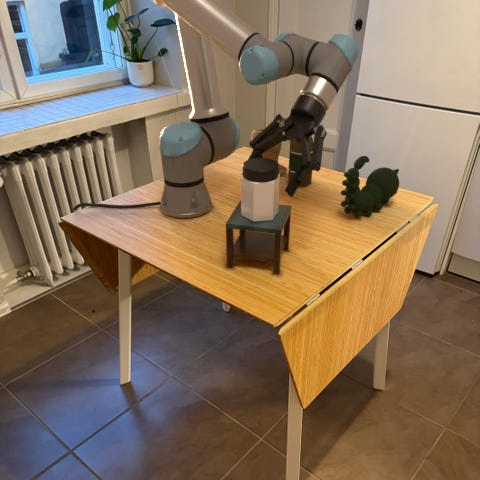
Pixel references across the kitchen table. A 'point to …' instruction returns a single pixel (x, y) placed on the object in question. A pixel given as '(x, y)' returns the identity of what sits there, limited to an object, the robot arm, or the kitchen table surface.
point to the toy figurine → (368, 189)
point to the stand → (258, 237)
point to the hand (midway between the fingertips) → (266, 185)
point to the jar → (260, 189)
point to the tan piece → (270, 151)
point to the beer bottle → (298, 161)
